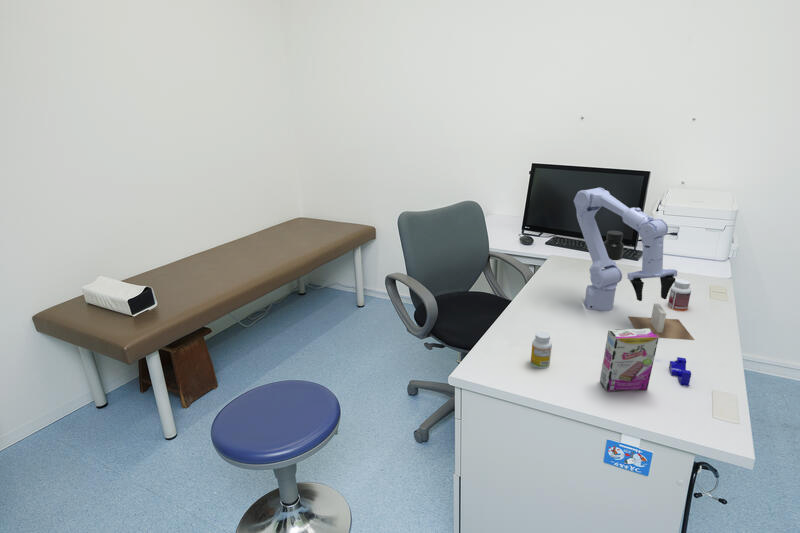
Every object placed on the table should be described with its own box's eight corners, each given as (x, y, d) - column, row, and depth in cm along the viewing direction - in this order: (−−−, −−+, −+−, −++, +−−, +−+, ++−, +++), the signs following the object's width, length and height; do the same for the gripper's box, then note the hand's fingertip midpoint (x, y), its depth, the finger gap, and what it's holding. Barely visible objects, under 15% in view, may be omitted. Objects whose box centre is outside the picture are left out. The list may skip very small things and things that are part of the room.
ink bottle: (607, 252, 223) (611, 228, 219) (625, 256, 217) (629, 232, 213) (597, 257, 218) (600, 232, 213) (615, 261, 211) (619, 236, 207)
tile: (657, 332, 148) (660, 312, 146) (650, 322, 155) (653, 303, 152) (662, 332, 148) (666, 313, 145) (656, 322, 154) (659, 303, 152)
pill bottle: (690, 310, 164) (696, 282, 160) (681, 315, 161) (687, 286, 157) (672, 304, 169) (678, 276, 165) (663, 308, 166) (669, 280, 162)
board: (638, 339, 147) (639, 336, 146) (627, 318, 159) (627, 316, 159) (694, 342, 144) (694, 340, 143) (677, 321, 156) (678, 319, 156)
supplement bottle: (535, 356, 139) (537, 328, 135) (552, 362, 135) (555, 333, 132) (527, 364, 135) (529, 335, 131) (545, 370, 132) (548, 341, 128)
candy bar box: (607, 392, 121) (616, 338, 116) (599, 381, 126) (607, 328, 120) (649, 391, 122) (659, 336, 116) (639, 380, 126) (649, 327, 121)
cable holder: (668, 368, 132) (671, 356, 130) (682, 370, 130) (685, 358, 129) (673, 384, 125) (676, 371, 123) (688, 386, 123) (691, 373, 122)
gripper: (634, 263, 142) (633, 304, 145) (683, 259, 141) (681, 301, 144) (624, 258, 149) (624, 298, 152) (671, 254, 148) (669, 294, 151)
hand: (651, 299), depth 149 cm, fingers open, 7 cm apart
